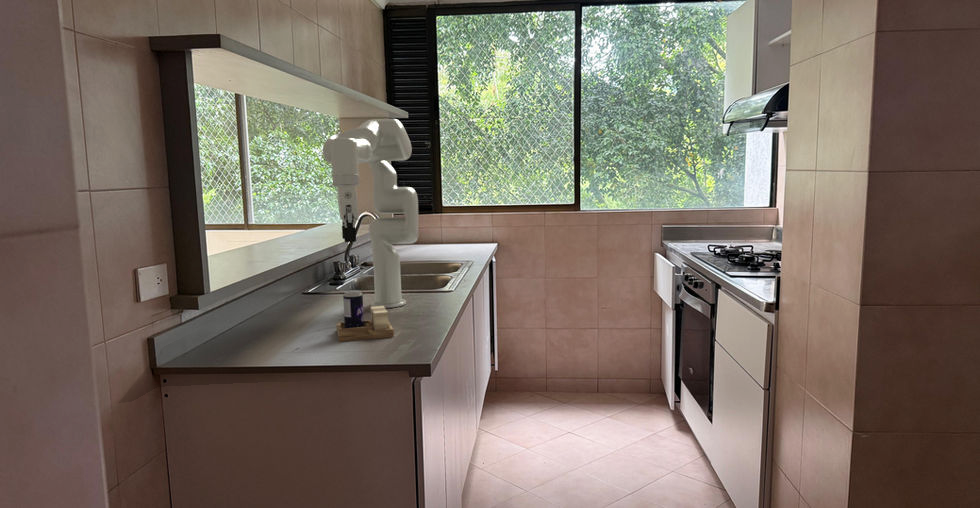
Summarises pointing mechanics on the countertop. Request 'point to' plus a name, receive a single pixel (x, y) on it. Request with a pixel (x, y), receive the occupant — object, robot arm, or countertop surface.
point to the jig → (362, 332)
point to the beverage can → (353, 309)
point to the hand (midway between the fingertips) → (349, 240)
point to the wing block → (379, 318)
